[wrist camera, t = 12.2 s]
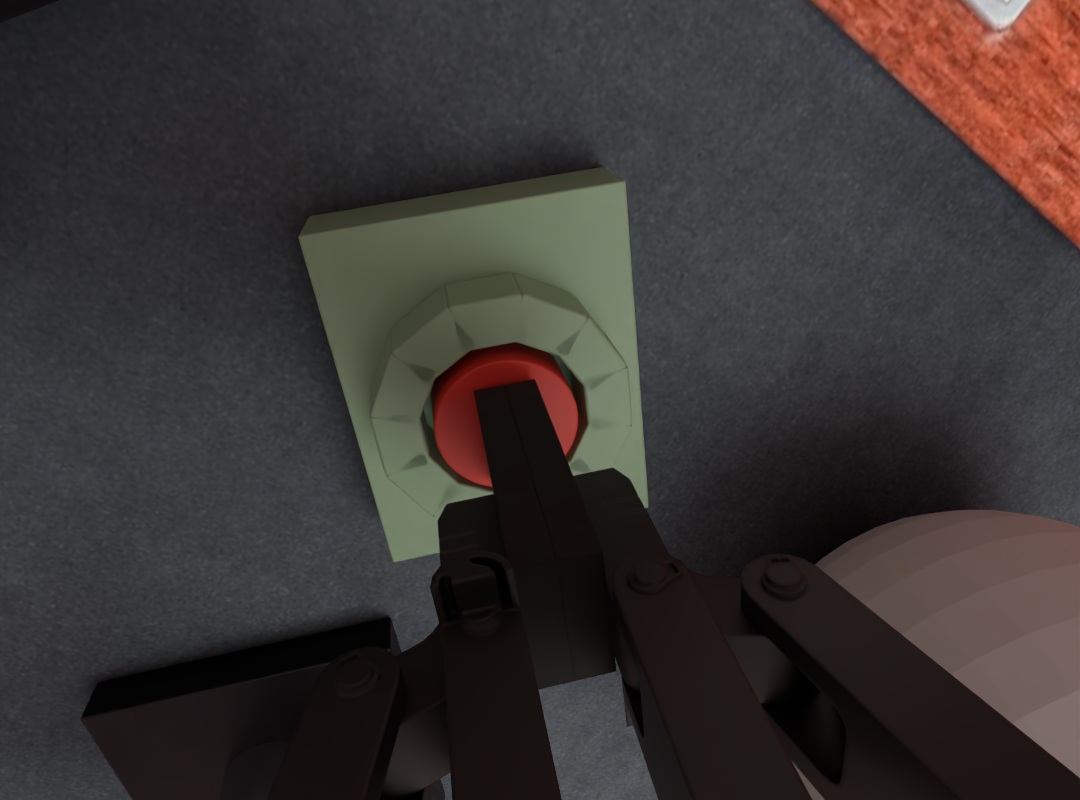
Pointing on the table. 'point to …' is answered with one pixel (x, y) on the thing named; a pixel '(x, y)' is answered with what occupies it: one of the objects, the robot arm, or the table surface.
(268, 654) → the faucet body
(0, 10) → the multiport hub
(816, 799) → the decorative object
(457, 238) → the button box
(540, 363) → the button
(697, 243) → the table surface
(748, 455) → the table surface
